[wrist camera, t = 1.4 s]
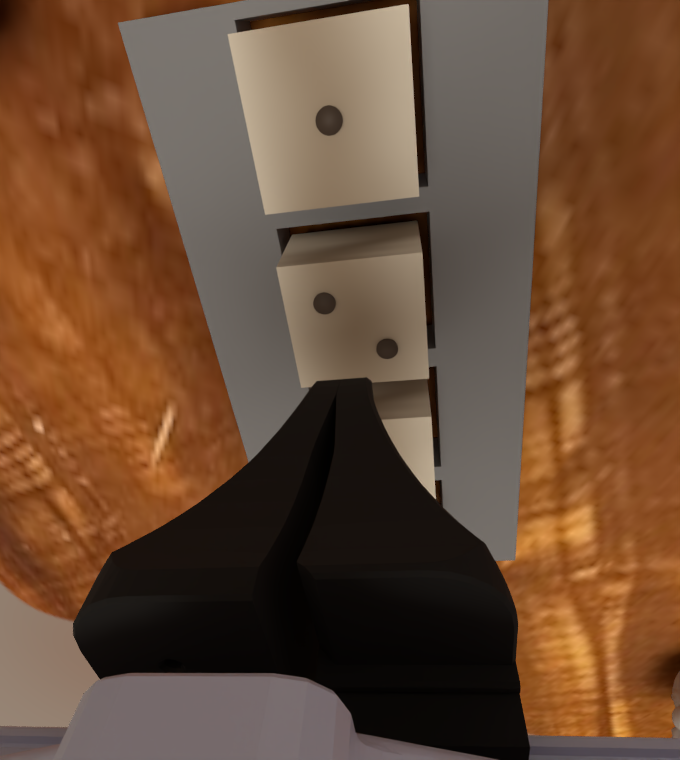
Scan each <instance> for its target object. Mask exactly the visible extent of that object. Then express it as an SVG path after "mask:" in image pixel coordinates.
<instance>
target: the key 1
mask: <svg viewBox="0 0 680 760" xmlns="http://www.w3.org/2000/svg"><path fill="white" fill-rule="evenodd" d="M228 39H229V44H230V49H231V54H232V58H233V63H234V68H235V73H236V77H237V82H238V87H239V92H240V97H241V101H242V106H243V111H244V116H245V121H246V125H247V130H248V135H249V140H250V145H251V149H252V154H253V159H254V164H255V169H256V173H257V178H258V183H259V188H260V192H261V197H262V202H263V207H264V212H265V215H268V214H276V213H284V212H293V211H301V210H310V209H318V208H326V207H335V206H343V205H352V204H360V203H369V202H377V201H385V200H394V199H402V198H411V197H419V182H418V164H417V146H416V128H415V109H414V91H413V73H412V55H411V37H410V18H409V4H404V5H399V6H393V7H387V8H381V9H375V10H369V11H363V12H357V13H351V14H345V15H339V16H333V17H327V18H321V19H315V20H309V21H303V22H297V23H291V24H285V25H280V26H274V27H268V28H262V29H256V30H250V31H244V32H238V33H232V34H228Z"/></svg>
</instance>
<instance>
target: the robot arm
mask: <svg viewBox="0 0 680 760" xmlns="http://www.w3.org/2000/svg"><path fill="white" fill-rule="evenodd" d="M517 633H518V619H517V612H516V608H515V605H514V602H513V599H512V596H511V594H510V591H509V589H508V586H507V584H506V582H505V579H504V577H503V575H502V573H501V571H500V569H499V567H498V565H497V563H496V562H495V560H494V558H493V556H492V554H491V553H490V551H489V549H488V547H487V545H486V544H485V543H484V542H483V541H481V540H480V539H479V538H478V537H476V536H475V535H474V534H473V533H471V532H470V531H469V530H468V529H466V528H465V527H464V526H463V525H462V524H461V523H459V522H458V521H457V520H456V519H455V518H454V517H453V516H452V515H451V514H450V513H449V512H447V511H446V510H445V509H444V508H443V507H442V506H441V505H440V503H439V502H438V501H437V500H436V499H435V498H434V497H433V496H432V495H431V494H430V493H429V492H428V491H427V489H426V488H425V487H424V486H423V485H422V484H421V483H420V481H419V480H418V479H417V477H416V476H415V475H414V474H413V472H412V471H411V470H410V468H409V467H408V465H407V464H406V463H405V461H404V460H403V458H402V457H401V455H400V454H399V452H398V450H397V449H396V447H395V445H394V444H393V442H392V440H391V438H390V437H389V435H388V433H387V431H386V429H385V427H384V424H383V422H382V420H381V418H380V416H379V413H378V411H377V408H376V405H375V402H374V395H373V387H372V381H371V380H370V379H368V378H367V377H364V378H350V379H342V380H341V379H337V380H323V381H316V382H315V384H314V385H313V386H312V387H311V389H310V390H309V391H308V393H307V394H306V395H305V397H304V398H303V400H302V401H301V402H300V404H299V405H298V406H297V408H296V409H295V410H294V412H293V413H292V414H291V415H290V417H289V418H288V419H287V420H286V422H285V423H284V424H283V425H282V427H281V428H280V429H279V430H278V432H277V433H276V434H275V435H274V436H273V437H272V438H271V439H270V441H269V442H268V443H267V444H266V445H265V446H264V447H263V448H262V449H261V451H260V452H259V453H258V454H257V455H256V456H255V457H254V458H253V459H252V460H251V461H250V462H249V463H248V464H247V465H245V466H244V467H243V468H242V469H241V470H240V471H239V472H238V473H236V474H235V475H234V476H233V477H232V478H231V479H229V480H228V481H227V482H226V483H224V484H223V485H222V486H220V487H219V488H218V489H216V490H215V491H214V492H212V493H211V494H210V495H209V496H207V497H206V498H205V499H203V500H202V501H201V502H199V503H198V504H196V505H195V506H193V507H192V508H190V509H189V510H187V511H186V512H184V513H183V514H181V515H180V516H178V517H176V518H175V519H173V520H171V521H170V522H168V523H166V524H165V525H163V526H161V527H160V528H158V529H156V530H154V531H153V532H151V533H149V534H147V535H145V536H143V537H141V538H139V539H137V540H135V541H134V542H132V543H130V544H128V545H126V546H124V547H122V548H120V549H118V550H116V551H114V552H112V553H111V555H110V556H109V558H108V559H107V561H106V563H105V564H104V566H103V568H102V569H101V571H100V573H99V575H98V577H97V578H96V580H95V582H94V584H93V586H92V588H91V590H90V592H89V594H88V596H87V598H86V600H85V602H84V603H83V605H82V607H81V609H80V611H79V613H78V615H77V617H76V619H75V621H74V623H73V636H74V638H75V640H76V642H77V644H78V646H79V648H80V651H81V652H82V654H83V655H84V657H85V658H86V660H87V661H88V663H89V664H90V665H91V667H92V668H93V670H94V671H95V673H96V674H97V675H98V677H99V678H100V680H98V681H96V682H95V683H94V684H93V685H92V686H91V687H90V688H89V689H88V690H87V691H86V692H85V693H84V694H83V696H82V698H81V700H80V703H79V705H78V707H77V709H76V711H75V714H74V715H73V718H72V720H71V722H70V724H69V726H68V727H16V726H0V760H680V738H641V737H585V736H528V734H527V729H526V724H525V719H524V714H523V709H522V704H521V699H520V694H519V693H520V680H519V675H518V671H517V666H516V647H517Z"/></svg>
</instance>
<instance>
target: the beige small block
mask: <svg viewBox="0 0 680 760" xmlns="http://www.w3.org/2000/svg"><path fill="white" fill-rule="evenodd" d="M372 387H373V395H374V402H375V405H376V408H377V411H378V413H379V416H380V418H381V420H382V422H383V424H384V427H385V429H386V431H387V433H388V435H389V437H390V438H391V440H392V442H393V444H394V445H395V447H396V449H397V450H398V452H399V454H400V455H401V457H402V458H403V460H404V461H405V463H406V464H407V465H408V467H409V468H410V470H411V471H412V472H413V474H414V475H415V476H416V477H417V479H418V480H419V481H420V483H421V484H422V485H423V486H424V487H425V488H426V489H427V491H428V492H429V493H430V494H431V495H432V496H433V497H434V498H435V499H436V492H435V473H434V455H433V437H432V419H431V409H430V400H429V391H428V382H427V379H416V380H402V381H388V382H374V383H372Z"/></svg>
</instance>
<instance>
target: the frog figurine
mask: <svg viewBox="0 0 680 760" xmlns="http://www.w3.org/2000/svg"><path fill="white" fill-rule="evenodd" d="M672 692H673V694H671V698H672V700H673V701H674V704H675V709H674V711H673V713H672V720H673V723H674V725H675V726H676V727H674V728H672V729H671V730H672V735H673V736H672V738H680V671H679V672H678V674H677V676H676V678H675V681H674V685H673V689H672Z"/></svg>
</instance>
